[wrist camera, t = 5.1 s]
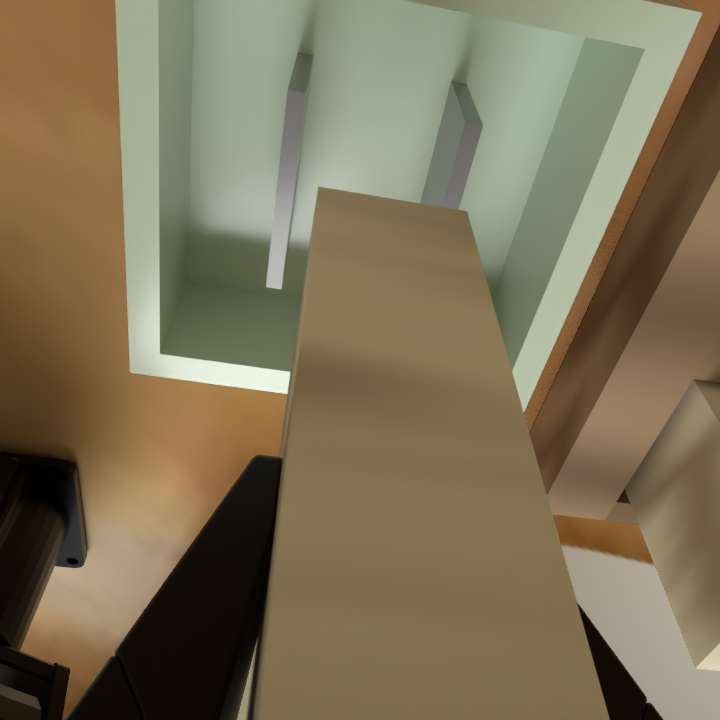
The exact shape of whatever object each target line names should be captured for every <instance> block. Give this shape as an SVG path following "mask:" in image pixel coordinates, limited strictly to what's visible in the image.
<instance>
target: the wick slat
mask: <svg viewBox="0 0 720 720" xmlns="http://www.w3.org/2000/svg"><path fill="white" fill-rule="evenodd" d="M625 491H626V494H627V496H628V499H629V501H630V504H631V506H632V509H633V512H634V514H635V517H636V519H637V522H638V524H639V527H640V529H641V532H642V534H643V537H644V539H645V542H646V544H647V547H648V550H649V552H650V555H651V557H652V560H653V562H654V565H655V567H656V570H657V572H658V575H659V577H660V580H661V582H662V585H663V587H664V590H665V592H666V595H667V597H668V600H669V603H670V605H671V607H672V610H673V613H674V615H675V618H676V620H677V623H678V625H679V628H680V630H681V633H682V635H683V638H684V641H685V643H686V645H687V648H688V651H689V653H690V656H691V658H692V661H693V663H694V666H695V668H697V669H708V670H718V671H720V383H719V382H712V381H705V380H698V379H694V380H693V381H692V383H691V384H690V386H689V388H688V389H687V391H686V392H685V394H684V395H683V397H682V399H681V400H680V402H679V403H678V405H677V407H676V408H675V410H674V411H673V413H672V414H671V416H670V418H669V419H668V421H667V422H666V424H665V425H664V427H663V429H662V430H661V432H660V433H659V435H658V437H657V438H656V440H655V441H654V443H653V444H652V446H651V448H650V449H649V451H648V452H647V454H646V456H645V457H644V459H643V460H642V462H641V463H640V465H639V467H638V468H637V470H636V471H635V473H634V475H633V476H632V478H631V479H630V481H629V482H628V484H627V486H626V487H625Z"/></svg>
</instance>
